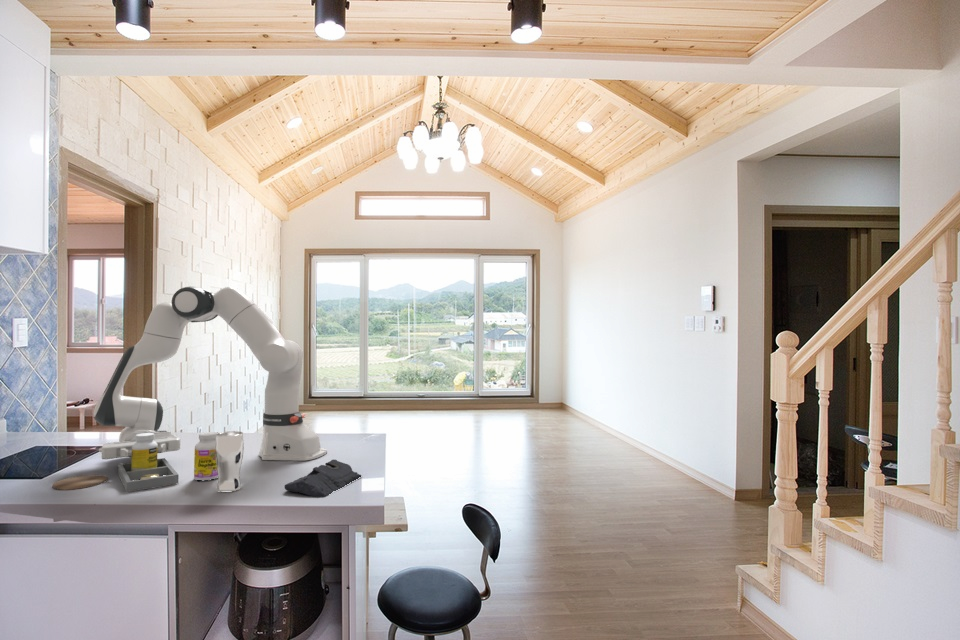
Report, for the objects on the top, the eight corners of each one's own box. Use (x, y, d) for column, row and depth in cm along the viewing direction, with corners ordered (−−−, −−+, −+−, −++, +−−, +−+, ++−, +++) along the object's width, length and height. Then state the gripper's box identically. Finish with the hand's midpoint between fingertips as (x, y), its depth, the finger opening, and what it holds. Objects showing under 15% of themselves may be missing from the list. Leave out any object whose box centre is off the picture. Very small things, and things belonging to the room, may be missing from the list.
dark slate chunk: (273, 494, 138) (274, 476, 138) (321, 472, 159) (321, 457, 159) (324, 500, 134) (324, 482, 134) (366, 477, 155) (366, 460, 155)
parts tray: (117, 472, 156) (117, 464, 156) (164, 466, 163) (164, 458, 163) (126, 492, 138) (126, 482, 138) (178, 483, 145) (178, 474, 145)
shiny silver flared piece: (234, 483, 146) (235, 429, 146) (248, 488, 142) (248, 433, 142) (209, 490, 140) (210, 433, 140) (222, 495, 136) (223, 437, 136)
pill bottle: (144, 477, 151) (145, 437, 151) (125, 476, 152) (126, 436, 152) (162, 471, 157) (163, 432, 157) (144, 470, 159) (144, 431, 159)
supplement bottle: (193, 482, 146) (194, 436, 146) (194, 476, 152) (194, 432, 152) (220, 479, 149) (221, 434, 150) (219, 473, 155) (220, 430, 155)
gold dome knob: (162, 481, 148) (163, 474, 148) (149, 486, 144) (150, 478, 144) (149, 480, 149) (150, 473, 149) (136, 485, 145) (136, 477, 145)
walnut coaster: (117, 478, 150) (117, 476, 150) (76, 491, 138) (76, 489, 138) (84, 475, 152) (84, 473, 152) (41, 487, 141) (41, 485, 141)
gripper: (98, 438, 158) (101, 446, 148) (175, 429, 171) (183, 437, 161) (98, 459, 158) (101, 468, 148) (175, 449, 171) (183, 457, 161)
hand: (145, 452), depth 154 cm, fingers closed on pill bottle, 6 cm apart
